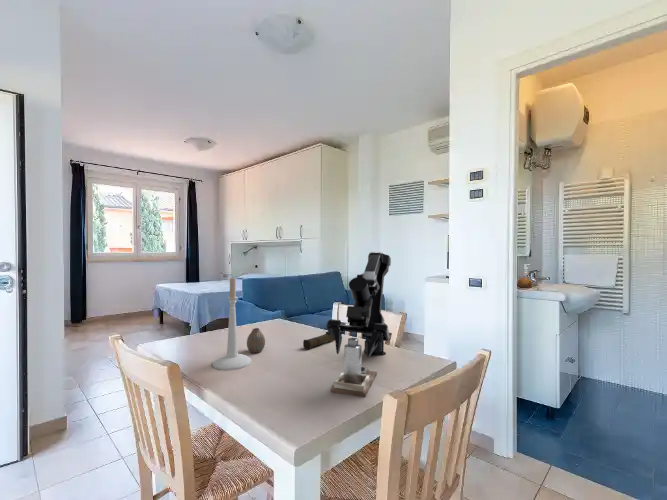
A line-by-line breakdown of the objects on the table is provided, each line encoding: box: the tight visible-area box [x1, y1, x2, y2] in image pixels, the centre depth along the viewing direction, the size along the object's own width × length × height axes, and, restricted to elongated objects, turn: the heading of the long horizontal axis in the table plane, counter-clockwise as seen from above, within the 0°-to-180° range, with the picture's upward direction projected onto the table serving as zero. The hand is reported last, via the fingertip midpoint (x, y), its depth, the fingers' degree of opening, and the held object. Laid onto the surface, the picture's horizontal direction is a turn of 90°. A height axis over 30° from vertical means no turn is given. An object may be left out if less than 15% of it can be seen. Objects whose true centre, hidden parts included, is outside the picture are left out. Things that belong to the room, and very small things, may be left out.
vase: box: [246, 327, 266, 354], centre depth 131 cm, size 7×7×9 cm
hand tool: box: [302, 330, 335, 350], centre depth 142 cm, size 19×4×5 cm, turn 138°
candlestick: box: [212, 277, 252, 371], centre depth 118 cm, size 13×13×30 cm
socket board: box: [330, 365, 378, 398], centre depth 103 cm, size 17×10×2 cm, turn 162°
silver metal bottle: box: [343, 337, 362, 385], centre depth 99 cm, size 5×5×13 cm
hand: (352, 355), depth 99 cm, fingers open, 9 cm apart
